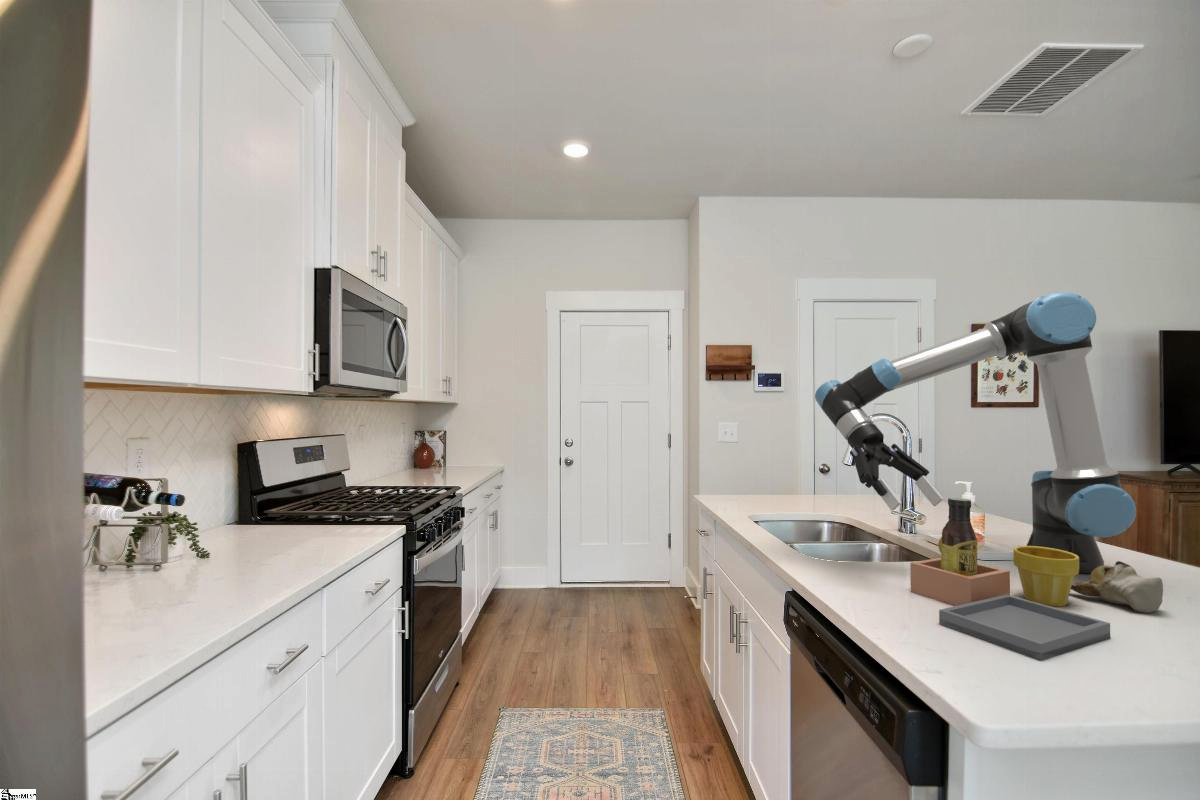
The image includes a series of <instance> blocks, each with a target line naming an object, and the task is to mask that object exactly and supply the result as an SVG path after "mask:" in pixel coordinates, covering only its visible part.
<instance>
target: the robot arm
mask: <svg viewBox="0 0 1200 800" xmlns="http://www.w3.org/2000/svg"><path fill="white" fill-rule="evenodd" d="M1096 323H1097V313H1096V310H1095V307H1094V306H1093V305H1092V303H1091V302H1090V301H1089V300H1088V299H1087V298H1085V297H1083V296H1081V295H1079V294H1078V293H1077V294H1076V293H1074V292H1068V291H1061V292H1060V291H1059V292H1058V291H1057V292H1054V293H1049V294H1045V295H1041V296H1039V297H1037V298H1035V299H1034V300H1032V301H1029V302H1028V303H1025V304H1023V305H1021V306H1019V307H1018V308H1017V309H1015V310H1012V311H1011V312H1009V313H1007V314H1005V315H1003V316H1001V317H999V318H997V319H994V320H991V321H989V322H986V323H985V324H984V327H983V328H981V329H977V330H975V331H973V332H969V333H967V334H963V335H961V336H958V337H956V338H951V339H950V340H947V341H944V342H941V343H938V344H936V345H933V346H930V347H927V348H924V349H922V350H921V349H920V350H918V351H916V352H913V353H910V354H907V355H904V356H901V357H898V358H896V359H893V360H888V359H887V358H881V359H879V360H877V361H876V362H873V363H872V364H871V365H869V366H867V367H866V368H865V369H863V370H862V371H861V370H860V371H859V372H857V373H856V374H854V376H852V377H851V378H850V379H848V380H846V381H844V382H840V381H839V380H836V379H831V380H829V381H826V382H824V383H823V384H821V385H820V386H819V387H818V388H817V389H816V391H815V392H814V393H815V394H814V399H815V401H816V402H817V405H818V406H819V407H820V409H821V410H822V412H823V413H824V414H825V415H826V417H828V419H829V420H830V422H831V423H832V424H833V425H834V426H835V428H836V429H837V430H838V431H839V433H840V434H841V435H842V437H843V438H844V439H845V440H846V441H847V443H848V444H847V445H849V446H850V448H851V450H850V451H849V454H850V456H851V457H852V459H853V462H854V465H855V469H856V472H857V476H858V480H859V482H860V483H861V484H863V485H864V484H865V487H867V488H869V489H870V488H871V487H872V488H873V489H874V491H875V492H876V494H877V495H879V497H881V499H882V501H884V503H885V504H886V505H887V507H888V508H889V509H890V511H895V510H896V509H897V508H898V507H900V505H901V504H902V501H901V500H900V499H899V497H898V496H897V494H895V492H894V491H893V489H892V488H891V487H890V486H889V485H888V483H887V482H886V481H885V480H884V478H880V472H879V471H880V469H879V468H880V467H879V466H880V465H883V466H887V467H888V468H894V469H895V470H897V471H898V472H900V473H902V474H904V475H905V476H907V477H908V478H910V479H912V480H914V481H915V482H914V484H915V486H916V487H917V488H918V489H919V490H920V491H921V493H922V494H923V496H924V497H925V498H926V499H927V500H928V501H929V502H930V504H931V505H932V506H933V507H936V506H938V505H939V504H940V503H941V502H943V500H944V499H945V498H944V496H942V495H941V493H940V492H939V491H938V490H937V488H935V486H934V485H933V484H932V482H930V480H929V479H928V478H927V476H928V475H929V474H930V471H929V470H928V469H927V468H925V467H924V466H923V465H922V464H921V463H919V462H918V461H916V460H915V459H913V458H912V457H911V456H910V455H908V454H907V453H906V452H905V451H904V450H902V449H901V447H899V446H898V444H896V443H893V444H892V445H891V446H888V445H887V444H886V443H884V437H885V436H884V433H883V432H882V431H881V430H880V428H879V427H878V426H877V425H876V424H874V421H873V420H872V418H870V416H868V414H867V413H866V412H865V411H864V410H863V409H862V408H863V407H865V406H867V405H868V404H870V403H871V402H872V401H875V400H876V399H878V398H880V397H881V396H883V395H885V394H886V393H889V392H892V391H894V390H897V389H900V388H903V387H906V386H910V385H912V384H913V385H914V384H915V383H918V382H921V381H925V380H927V379H931V378H933V377H937V376H940V375H942V374H945V373H948V372H951V371H955V370H957V369H960V368H963V367H966V366H969V365H972V364H975V363H978V362H982V361H984V360H987V359H990V358H993V357H997V358H1000V359H1003V358H1006V357H1008V356H1012V355H1018V354H1020V353H1025V354H1026V359H1027V360H1029V361H1030V362H1033V364H1035V365H1036V366H1037V372H1038V377H1039V383H1040V387H1041V391H1042V393H1041V394H1042V397H1043V403H1044V408H1045V412H1046V417H1047V423H1048V427H1049V428H1048V429H1049V432H1050V437H1051V442H1052V447H1053V452H1054V458H1055V462H1056V468H1055V469H1054V470H1038V471H1035V472H1034V473H1032V479H1031V482H1030V485H1031V494H1032V495H1031V498H1032V499H1031V504H1032V506H1031V508H1032V509H1031V510H1032V513H1031V514H1032V532H1031V534H1030V537H1029V538H1028V540H1027V543H1026V546H1038V547H1047V548H1053V549H1059V550H1063V551H1067V552H1070V553H1073V554H1076V555H1077V556H1079V573H1078V574H1091V573H1092V571H1093V570H1094V569H1095V568H1097V567H1099V566H1104V565H1105V559H1104V558H1103V555H1102V552H1101V551H1100V548H1099V546H1098V543H1097V542H1096V539H1095V538H1111V537H1114V536H1117V535H1120V534H1122V533H1124V532H1126V531H1127V530H1128V529H1129V528H1130V527H1131V526H1132V525H1133V523H1134V522H1135V519H1136V516H1137V507H1136V506H1137V505H1136V503H1135V501H1134V499H1133V498H1132V496H1131V495H1130V494H1129V493H1128V492H1127V491H1126V490H1125V489H1123V488H1122V485H1121V478H1120V475H1119V472H1118V470H1117V469H1115V468H1113V467H1111V466H1110V465H1109V464H1108V463H1107V458H1106V454H1105V453H1106V452H1105V449H1104V443H1103V439H1102V438H1103V437H1102V434H1101V433H1102V432H1101V429H1100V425H1099V424H1100V423H1099V419H1098V418H1099V417H1098V415H1097V414H1098V413H1097V410H1096V404H1095V399H1094V393H1093V389H1092V384H1091V379H1090V375H1089V374H1090V373H1089V370H1088V369H1089V368H1088V366H1087V365H1088V364H1087V361H1086V357H1087V355H1088V354H1089V353H1090V352H1091V351H1092V350H1093V344H1092V339H1091V333H1092V332H1093V330H1094V328H1095V326H1096Z"/></svg>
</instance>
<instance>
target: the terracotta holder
mask: <svg viewBox="0 0 1200 800" xmlns="http://www.w3.org/2000/svg"><path fill="white" fill-rule="evenodd" d="M910 592H911V593H914V594H917V595H920V596H924V597H927V598H931V599H934V600H936V601H940V602H942V603H946V604H949V605H952V606H958V605H963V604H967V603H971V602H976V601H980V600H985V599H989V598H993V597H998V596H1002V595H1011V571H1010V570H1007V569H1003V568H999V567H994V566H990V565H986V564H982V563H978V562H977V575H973V576H965V575H961V574H957V573H953V572H950V571H946V570H942V569H941V557H937V558H931V559H925V560H924V559H923V560H919V561H914V562H910Z"/></svg>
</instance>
